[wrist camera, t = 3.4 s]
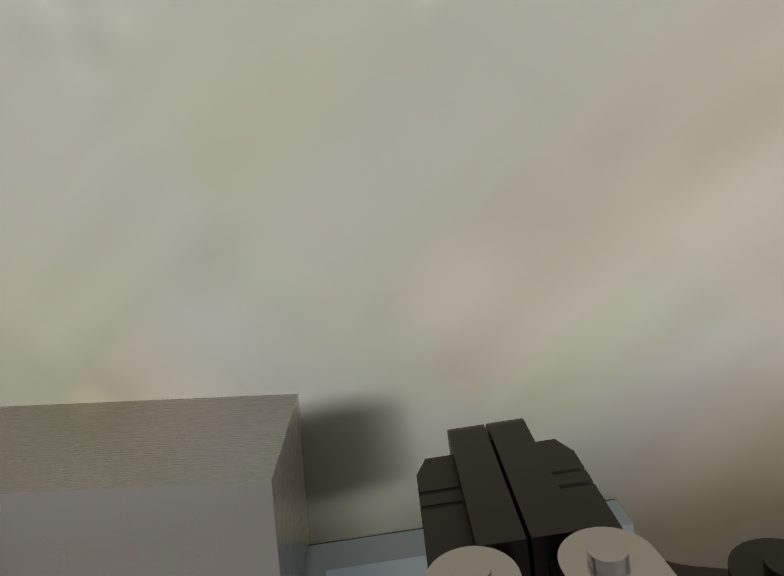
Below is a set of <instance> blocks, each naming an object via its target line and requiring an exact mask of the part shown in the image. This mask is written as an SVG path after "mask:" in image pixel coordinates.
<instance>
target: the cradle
mask: <svg viewBox="0 0 784 576" xmlns="http://www.w3.org/2000/svg"><path fill="white" fill-rule="evenodd" d="M606 503H607V504H608V506H609V507H610V509H611V511H612V512H613V514H614V515H615V517H616V518H617V520H618V522H619V523H620V525H621V526H622V528H623V529H624V530H626V531H630V532H632V533H634V524H633V522H632V521H631V519H630V518H629V516H628V515H627V513H626V512H625V510H624V509H623V507H622V506H621V504H620V503H619V501H618V500H617V499H616V500H609V501H606ZM426 571H427V557H426V549H425V541H424V532H423V529H417V530H411V531H404V532H398V533H391V534H384V535H378V536H371V537H364V538H358V539H351V540H345V541H338V542H331V543H325V544H318V545H312V546H309V549H308V555H307V561H306V567H305V573H304V576H425V574H426Z"/></svg>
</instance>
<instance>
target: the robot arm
mask: <svg viewBox="0 0 784 576" xmlns="http://www.w3.org/2000/svg"><path fill="white" fill-rule="evenodd" d="M447 432H448V441H449V448H450V455H449V456H442V457H435V458H429V459H425V461H424V463H423V464H422V466H421V468H420V470H419V472H418V474H417V483H418V491H419V499H420V507H421V516H422V524H423V532H424V541H425V549H426V557H427V571H426V574H425V576H784V539H776V538H762V539H754V540H749V541H747V542H744V543H742V544H740V545H738V546H736V547H735V548H734V549H733V550H732V552H731V553H730V555H729V558H728V569H719V568H707V567H696V566H687V565H680V564H676V563H671V562H668V561H665V560H664V559H663V558H662V556H661V555H660V554H659V553H658V551H657V550H656V549H655V548H654V547H653V546H652V545H651V544H650V543H649V542H648V541H646V540H645V539H644V538H642V537H640V536H639V535H637V534H634V533H632V532H630V531H626V530H624V529H623V528H622V526H621V525H620V523H619V522H618V520H617V518H616V517H615V515H614V514H613V512H612V511H611V509H610V507H609V506H608V504H607V503H606V501H605V499H604V498H603V496H602V495H601V493H600V492H599V490H598V488H597V487H596V485H595V484H593V481H592V479H591V477H590V476H589V474H588V473H587V471H586V470H584V466H583V465H582V463H581V462H580V460H579V458H578V457H577V455H576V454H575V452H574V451H573V450H571V449H570V448H568V447H567V446H565V445H563V444H562V443H560V442H558V441H557V440H555V439H552V440H545V441H539V442H535V440H534V439H533V437H532V435H531V433H530V431H529V429H528V427H527V425H526V423H525V421H524V420H523V419H522V418H521V419H515V420H508V421H502V422H495V423H489V424H486V429H485V427H484V425H476V426H470V427H463V428H457V429H450V430H447Z"/></svg>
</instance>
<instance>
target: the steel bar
mask: <svg viewBox="0 0 784 576" xmlns="http://www.w3.org/2000/svg"><path fill="white" fill-rule="evenodd" d="M309 543H310V536H309V524H308V511H307V499H306V486H305V474H304V461H303V449H302V436H301V424H300V411H299V399H298V394H286V395H263V396H240V397H217V398H194V399H171V400H148V401H125V402H102V403H79V404H56V405H33V406H10V407H0V576H304V573H305V567H306V561H307V555H308V549H309Z"/></svg>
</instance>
